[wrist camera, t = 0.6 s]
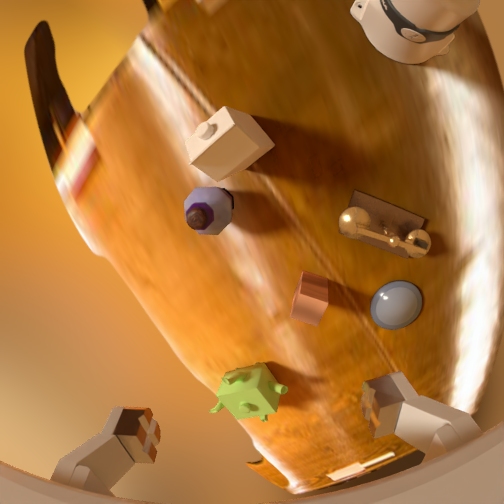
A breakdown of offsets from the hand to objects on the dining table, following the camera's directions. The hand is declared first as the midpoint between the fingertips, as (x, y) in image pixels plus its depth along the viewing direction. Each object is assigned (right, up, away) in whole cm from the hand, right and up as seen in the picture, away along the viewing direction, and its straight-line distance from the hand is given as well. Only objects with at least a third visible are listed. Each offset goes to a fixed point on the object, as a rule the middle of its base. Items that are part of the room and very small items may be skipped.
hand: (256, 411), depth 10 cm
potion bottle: (-6, +15, +45) cm, 48 cm away
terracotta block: (+11, -1, +47) cm, 48 cm away
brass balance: (+23, +11, +40) cm, 47 cm away
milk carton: (-1, +25, +40) cm, 47 cm away
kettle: (0, -24, +59) cm, 64 cm away
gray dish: (+29, -5, +45) cm, 53 cm away
